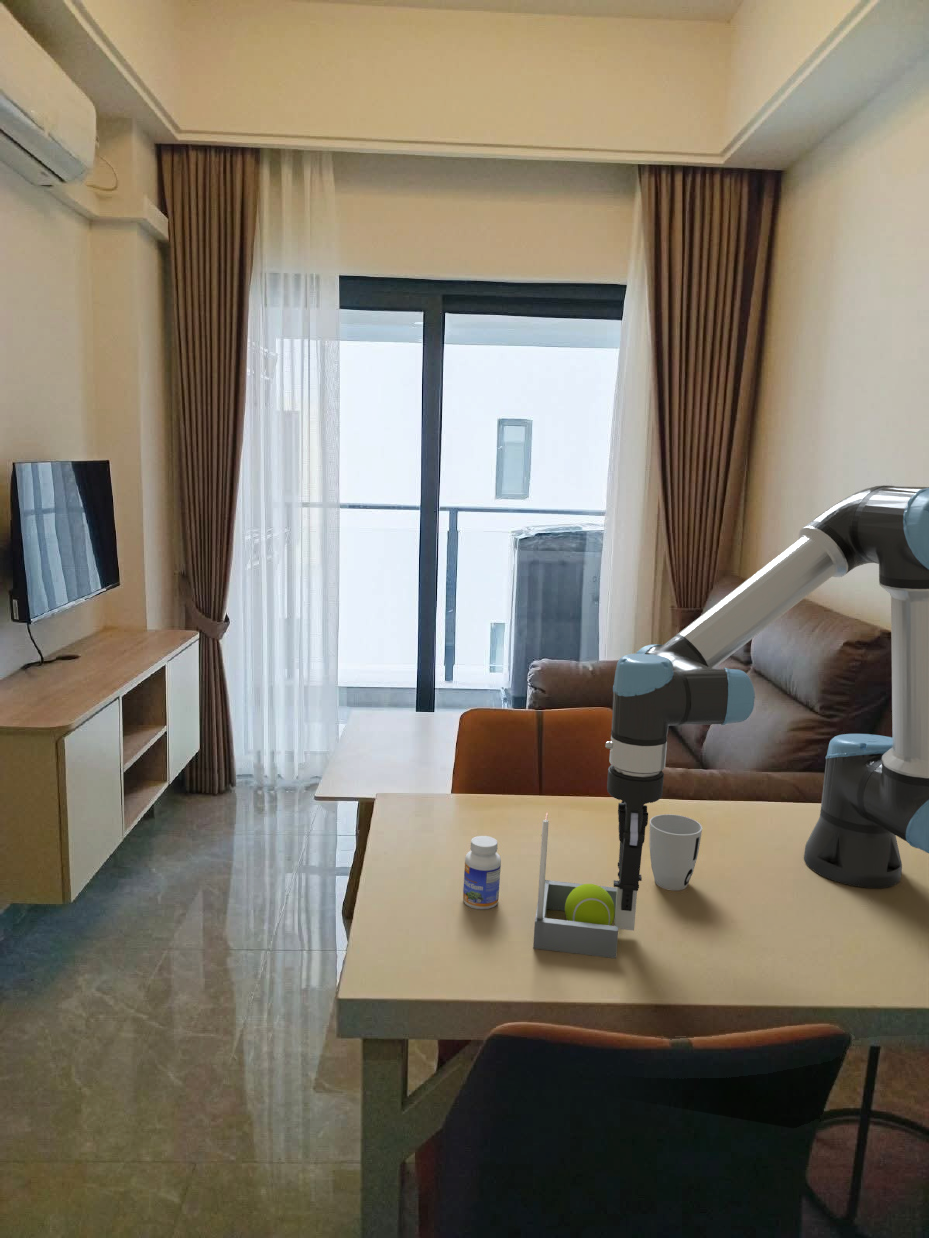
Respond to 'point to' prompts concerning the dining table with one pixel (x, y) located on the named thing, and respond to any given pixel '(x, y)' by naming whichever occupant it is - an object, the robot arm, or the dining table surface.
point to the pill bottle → (482, 873)
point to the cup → (673, 849)
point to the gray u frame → (562, 931)
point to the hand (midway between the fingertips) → (624, 926)
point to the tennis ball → (590, 905)
